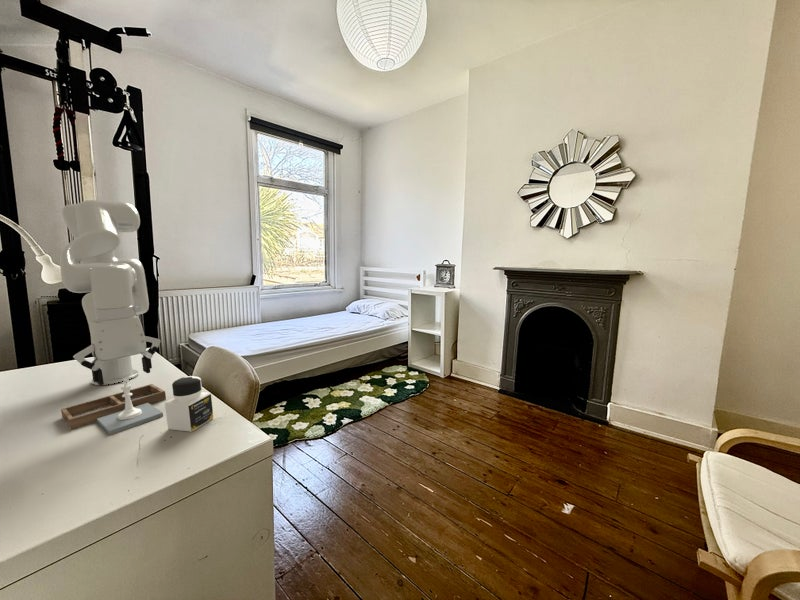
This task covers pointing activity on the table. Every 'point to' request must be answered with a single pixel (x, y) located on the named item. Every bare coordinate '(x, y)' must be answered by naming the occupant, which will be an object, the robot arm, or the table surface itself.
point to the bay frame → (109, 400)
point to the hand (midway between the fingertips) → (124, 377)
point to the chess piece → (128, 404)
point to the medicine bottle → (188, 405)
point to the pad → (116, 425)
